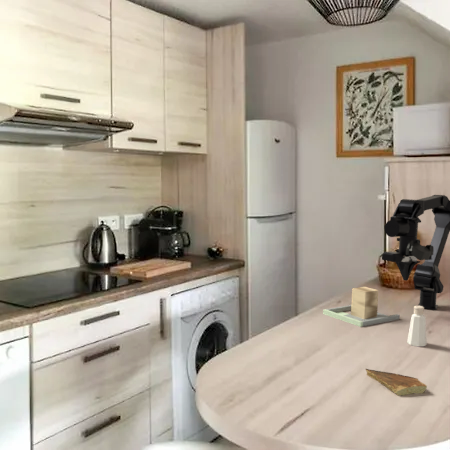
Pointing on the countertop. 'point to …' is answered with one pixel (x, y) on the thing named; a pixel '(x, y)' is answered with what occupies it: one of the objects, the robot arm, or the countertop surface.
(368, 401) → the countertop surface
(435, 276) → the robot arm
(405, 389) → the shard
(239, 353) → the countertop surface
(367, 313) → the block
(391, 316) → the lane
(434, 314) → the countertop surface
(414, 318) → the salt shaker
